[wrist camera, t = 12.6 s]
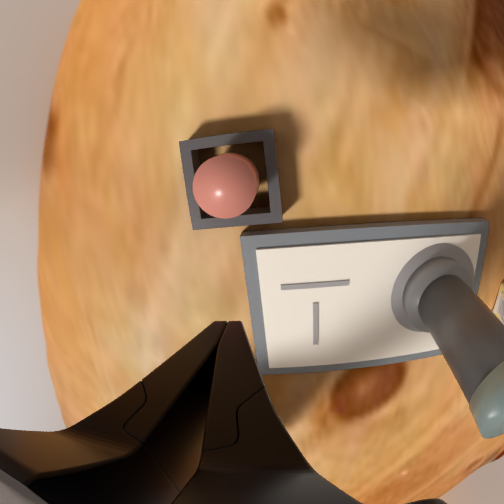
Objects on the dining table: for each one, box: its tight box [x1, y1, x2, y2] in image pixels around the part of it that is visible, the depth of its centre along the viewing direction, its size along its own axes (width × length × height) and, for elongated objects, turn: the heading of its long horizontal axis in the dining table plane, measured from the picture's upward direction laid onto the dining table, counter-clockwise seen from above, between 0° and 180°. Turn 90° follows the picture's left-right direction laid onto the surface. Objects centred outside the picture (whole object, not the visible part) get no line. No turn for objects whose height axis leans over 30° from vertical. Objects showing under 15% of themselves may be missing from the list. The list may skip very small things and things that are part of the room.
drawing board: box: [240, 218, 490, 375], centre depth 22 cm, size 20×13×1 cm, turn 96°
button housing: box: [179, 129, 283, 230], centre depth 20 cm, size 6×6×2 cm
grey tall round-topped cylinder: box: [402, 256, 504, 439], centre depth 15 cm, size 6×6×13 cm
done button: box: [193, 153, 259, 219], centre depth 18 cm, size 4×4×3 cm
